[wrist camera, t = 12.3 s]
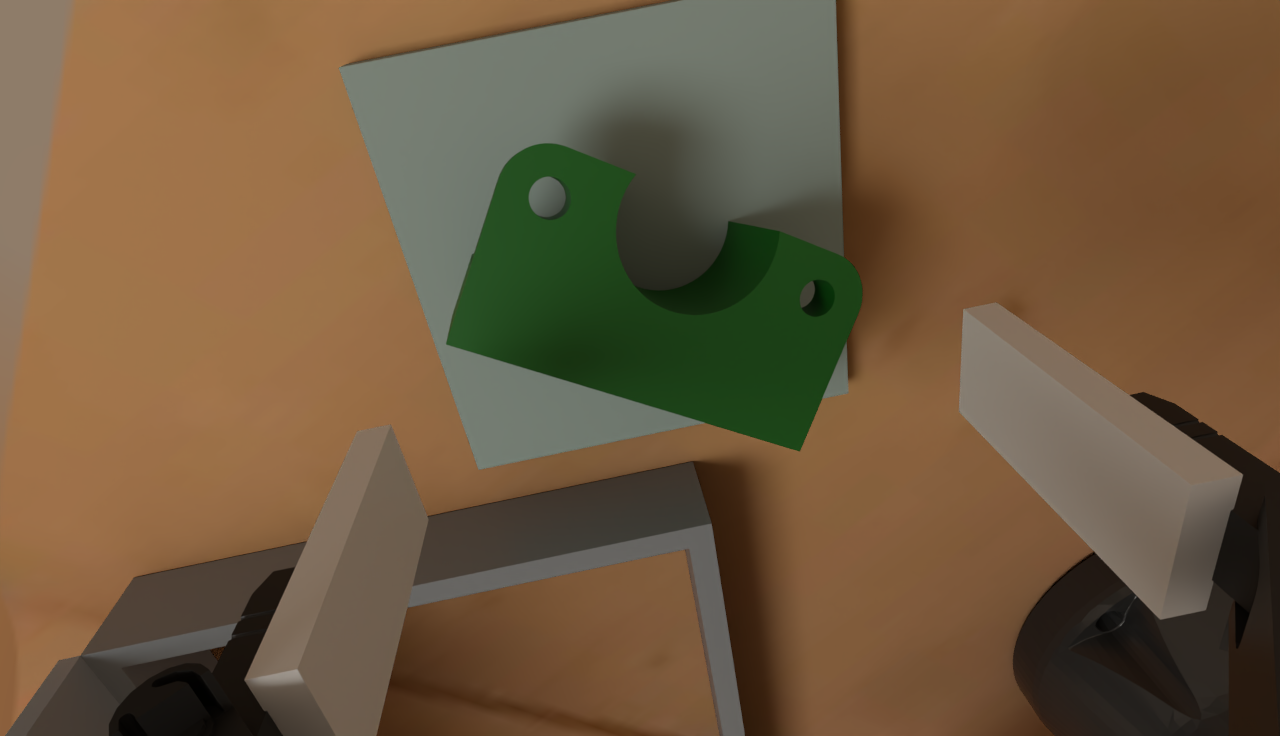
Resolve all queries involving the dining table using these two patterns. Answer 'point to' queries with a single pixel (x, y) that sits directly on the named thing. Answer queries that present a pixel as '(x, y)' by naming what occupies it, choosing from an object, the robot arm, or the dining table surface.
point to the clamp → (653, 307)
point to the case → (447, 568)
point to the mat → (622, 136)
